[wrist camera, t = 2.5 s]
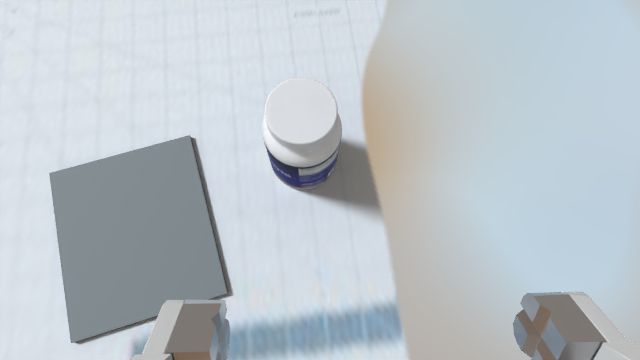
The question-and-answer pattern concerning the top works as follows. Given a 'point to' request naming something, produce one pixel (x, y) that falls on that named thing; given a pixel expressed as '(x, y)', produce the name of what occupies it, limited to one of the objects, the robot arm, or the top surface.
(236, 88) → the top surface
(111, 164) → the mat
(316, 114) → the pill bottle
